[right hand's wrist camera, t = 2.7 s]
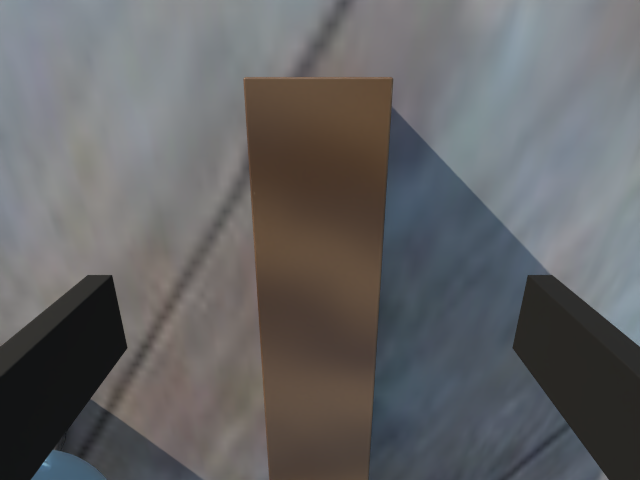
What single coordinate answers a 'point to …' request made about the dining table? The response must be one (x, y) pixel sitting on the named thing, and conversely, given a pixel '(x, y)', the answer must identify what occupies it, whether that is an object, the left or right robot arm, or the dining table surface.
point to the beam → (318, 264)
